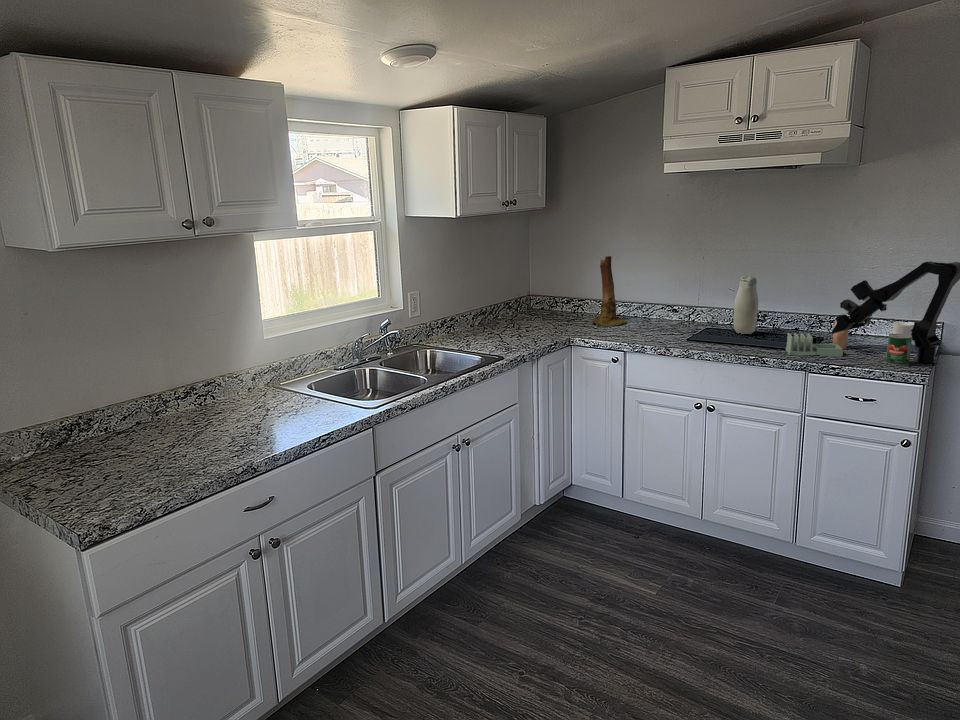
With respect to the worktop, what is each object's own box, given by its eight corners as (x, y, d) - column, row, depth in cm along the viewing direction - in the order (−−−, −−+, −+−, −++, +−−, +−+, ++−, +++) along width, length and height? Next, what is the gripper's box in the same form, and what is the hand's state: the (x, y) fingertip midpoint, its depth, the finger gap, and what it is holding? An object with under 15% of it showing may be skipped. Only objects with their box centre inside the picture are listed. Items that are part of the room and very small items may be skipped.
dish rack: (842, 356, 280) (844, 338, 278) (789, 355, 285) (791, 337, 283) (836, 351, 289) (838, 333, 287) (785, 350, 294) (787, 332, 292)
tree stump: (611, 328, 350) (612, 258, 342) (584, 325, 361) (584, 257, 354) (632, 322, 364) (633, 255, 356) (606, 319, 375) (606, 254, 368)
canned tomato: (905, 361, 270) (908, 333, 267) (911, 366, 262) (915, 337, 260) (882, 360, 272) (885, 333, 269) (888, 365, 264) (891, 337, 262)
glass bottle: (728, 334, 328) (732, 275, 321) (741, 331, 334) (745, 273, 327) (747, 337, 320) (751, 277, 314) (760, 334, 326) (764, 275, 320)
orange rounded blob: (848, 349, 292) (850, 323, 290) (834, 348, 294) (836, 323, 291) (844, 346, 298) (847, 321, 295) (831, 346, 299) (833, 321, 296)
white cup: (915, 348, 290) (918, 325, 288) (894, 348, 291) (897, 325, 289) (907, 344, 297) (910, 322, 295) (887, 344, 299) (890, 321, 297)
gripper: (866, 291, 292) (838, 314, 303) (842, 296, 282) (814, 319, 293) (883, 312, 287) (854, 334, 299) (859, 317, 277) (830, 340, 289)
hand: (838, 331), depth 295 cm, fingers open, 9 cm apart
